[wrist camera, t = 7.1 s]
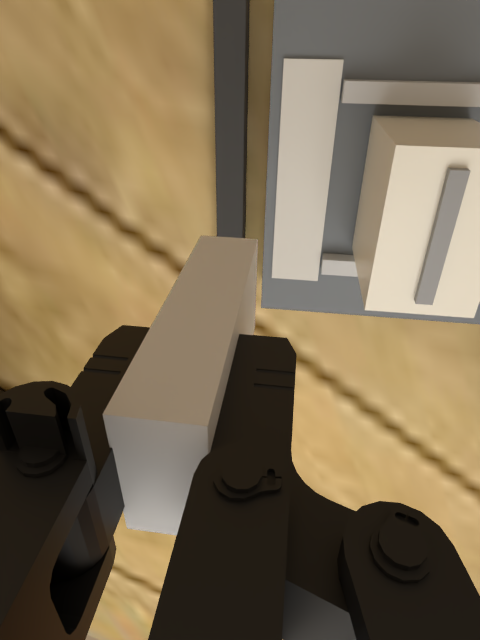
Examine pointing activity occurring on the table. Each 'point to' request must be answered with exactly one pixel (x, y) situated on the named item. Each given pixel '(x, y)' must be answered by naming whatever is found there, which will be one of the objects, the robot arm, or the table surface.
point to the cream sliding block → (420, 217)
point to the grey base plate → (231, 113)
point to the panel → (350, 128)
